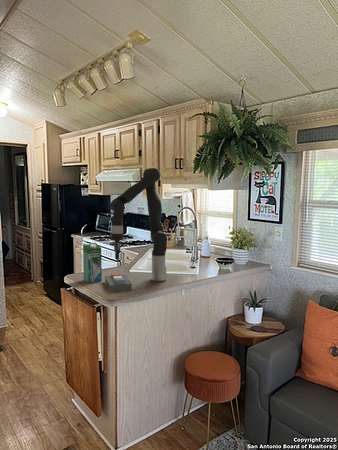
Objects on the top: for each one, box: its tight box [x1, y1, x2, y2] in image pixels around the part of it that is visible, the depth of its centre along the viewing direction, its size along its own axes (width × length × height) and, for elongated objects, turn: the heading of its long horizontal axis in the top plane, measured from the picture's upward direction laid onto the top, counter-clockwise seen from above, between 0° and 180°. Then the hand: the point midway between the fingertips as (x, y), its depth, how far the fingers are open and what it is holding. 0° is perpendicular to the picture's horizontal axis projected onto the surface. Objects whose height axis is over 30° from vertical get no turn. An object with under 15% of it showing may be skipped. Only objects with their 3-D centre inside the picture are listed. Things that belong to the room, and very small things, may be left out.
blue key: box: [115, 278, 125, 285], centre depth 202 cm, size 5×5×3 cm
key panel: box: [104, 274, 133, 293], centre depth 209 cm, size 13×22×4 cm, turn 19°
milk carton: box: [82, 242, 103, 284], centre depth 218 cm, size 9×9×25 cm
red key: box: [110, 272, 121, 278], centre depth 216 cm, size 5×5×3 cm
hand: (117, 259), depth 208 cm, fingers closed
